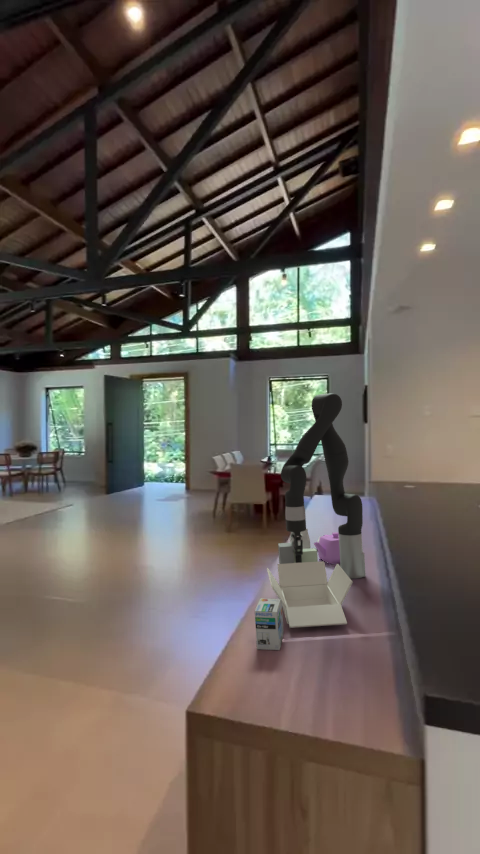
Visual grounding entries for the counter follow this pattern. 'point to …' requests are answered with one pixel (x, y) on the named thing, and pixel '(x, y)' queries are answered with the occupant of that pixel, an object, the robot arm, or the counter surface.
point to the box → (289, 554)
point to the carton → (311, 593)
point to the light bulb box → (269, 624)
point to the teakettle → (329, 548)
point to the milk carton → (304, 539)
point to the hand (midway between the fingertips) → (298, 563)
